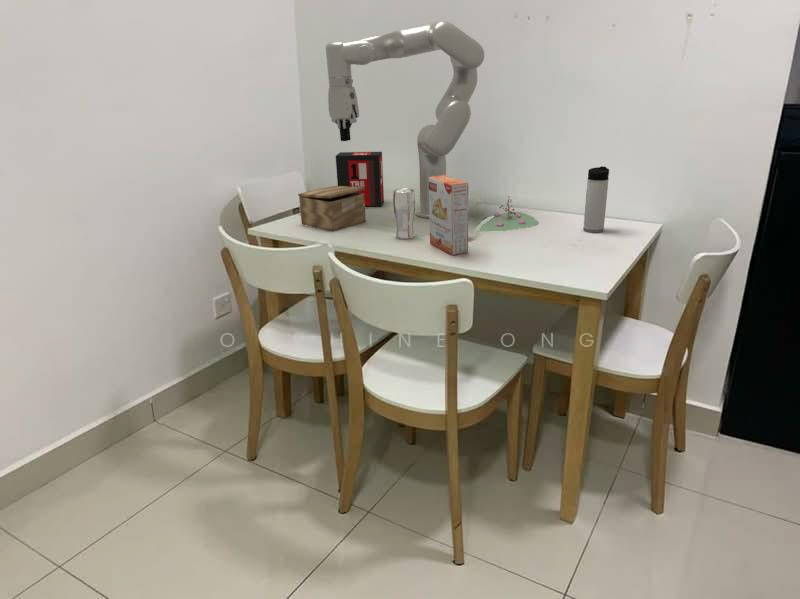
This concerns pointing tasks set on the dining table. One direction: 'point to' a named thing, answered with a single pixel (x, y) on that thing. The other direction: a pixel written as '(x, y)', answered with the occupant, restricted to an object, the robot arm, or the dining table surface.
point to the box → (333, 211)
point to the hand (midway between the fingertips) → (345, 140)
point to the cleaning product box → (362, 174)
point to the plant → (509, 221)
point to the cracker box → (448, 214)
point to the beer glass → (404, 212)
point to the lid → (331, 191)
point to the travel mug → (596, 199)
